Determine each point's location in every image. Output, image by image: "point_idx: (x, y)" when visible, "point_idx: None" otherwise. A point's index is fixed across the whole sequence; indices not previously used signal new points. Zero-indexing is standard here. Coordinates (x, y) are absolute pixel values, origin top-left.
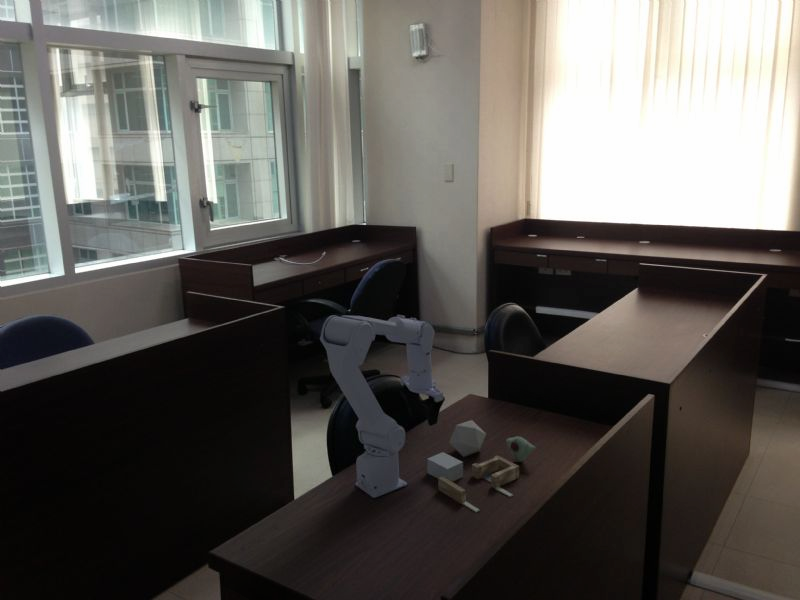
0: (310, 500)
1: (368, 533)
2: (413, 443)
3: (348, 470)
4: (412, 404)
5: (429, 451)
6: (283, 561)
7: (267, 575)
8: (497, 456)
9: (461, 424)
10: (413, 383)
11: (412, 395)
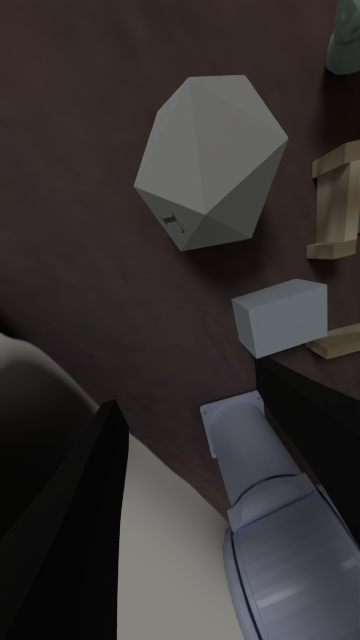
0: (218, 501)
1: None
2: (80, 316)
3: (156, 456)
4: (111, 485)
5: (144, 296)
6: None
7: None
8: (351, 150)
9: (214, 184)
10: None
11: (89, 594)
